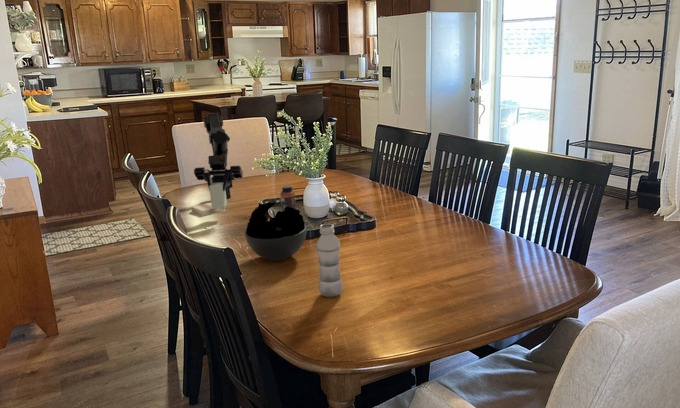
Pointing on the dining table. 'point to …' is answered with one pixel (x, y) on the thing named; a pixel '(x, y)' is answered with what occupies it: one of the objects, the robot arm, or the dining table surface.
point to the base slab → (209, 214)
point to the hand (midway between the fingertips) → (216, 190)
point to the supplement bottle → (288, 197)
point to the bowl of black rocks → (275, 232)
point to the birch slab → (206, 209)
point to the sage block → (217, 195)
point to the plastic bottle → (329, 262)
